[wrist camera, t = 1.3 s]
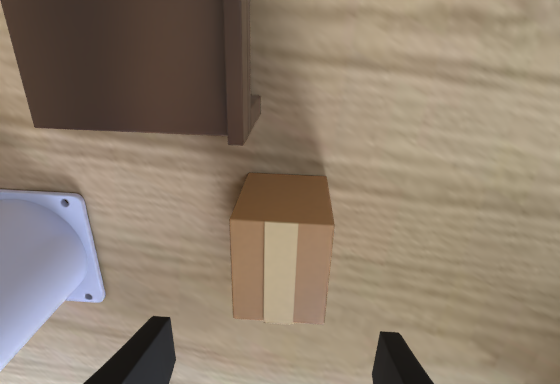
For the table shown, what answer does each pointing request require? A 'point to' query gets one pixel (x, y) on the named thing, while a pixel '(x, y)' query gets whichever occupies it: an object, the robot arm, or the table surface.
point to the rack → (136, 65)
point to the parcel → (281, 249)
